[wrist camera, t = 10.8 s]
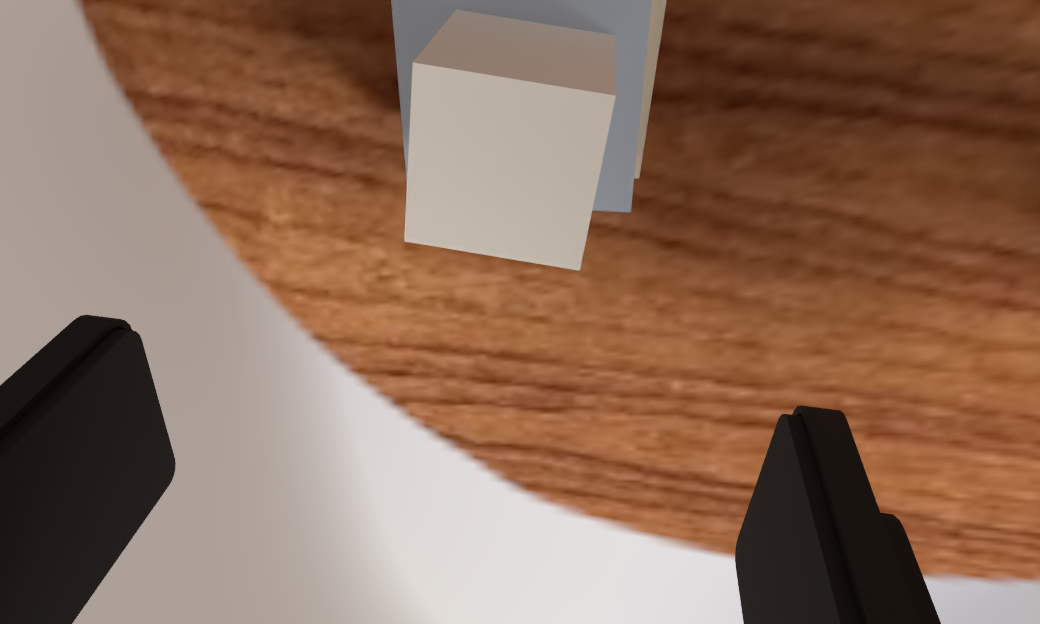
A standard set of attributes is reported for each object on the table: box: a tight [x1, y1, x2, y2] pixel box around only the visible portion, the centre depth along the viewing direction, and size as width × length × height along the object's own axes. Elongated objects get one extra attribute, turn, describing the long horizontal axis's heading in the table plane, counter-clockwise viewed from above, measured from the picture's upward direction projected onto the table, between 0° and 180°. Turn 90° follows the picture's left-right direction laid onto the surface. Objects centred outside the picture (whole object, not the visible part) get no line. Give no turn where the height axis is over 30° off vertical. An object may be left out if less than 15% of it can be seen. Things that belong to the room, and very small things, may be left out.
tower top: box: [391, 0, 652, 212], centre depth 26 cm, size 8×8×4 cm
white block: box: [404, 9, 616, 271], centre depth 22 cm, size 5×5×6 cm
